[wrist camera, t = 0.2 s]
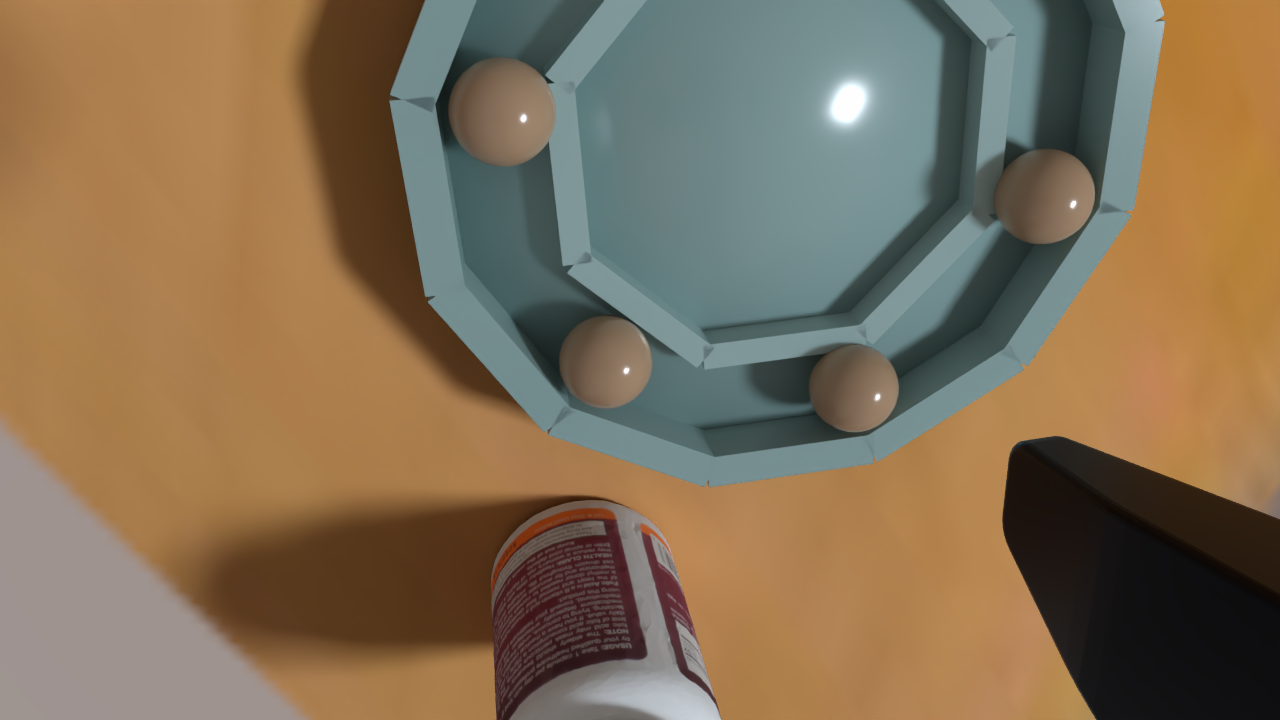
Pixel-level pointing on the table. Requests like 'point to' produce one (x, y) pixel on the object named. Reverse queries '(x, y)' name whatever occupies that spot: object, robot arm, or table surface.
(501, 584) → the pill bottle
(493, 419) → the table surface
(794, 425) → the tray
